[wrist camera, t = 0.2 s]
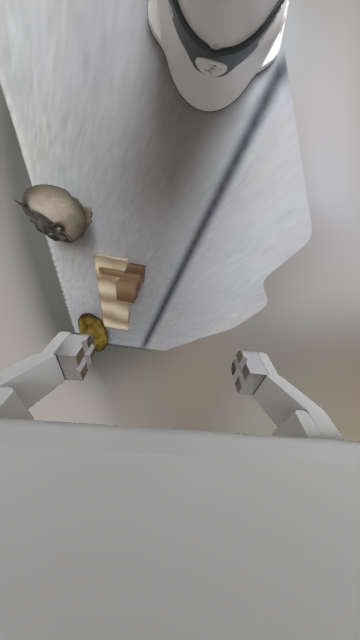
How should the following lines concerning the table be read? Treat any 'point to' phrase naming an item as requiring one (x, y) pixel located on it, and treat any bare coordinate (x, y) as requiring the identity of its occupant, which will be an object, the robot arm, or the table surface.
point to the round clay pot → (56, 212)
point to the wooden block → (127, 281)
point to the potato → (93, 330)
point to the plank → (111, 292)
